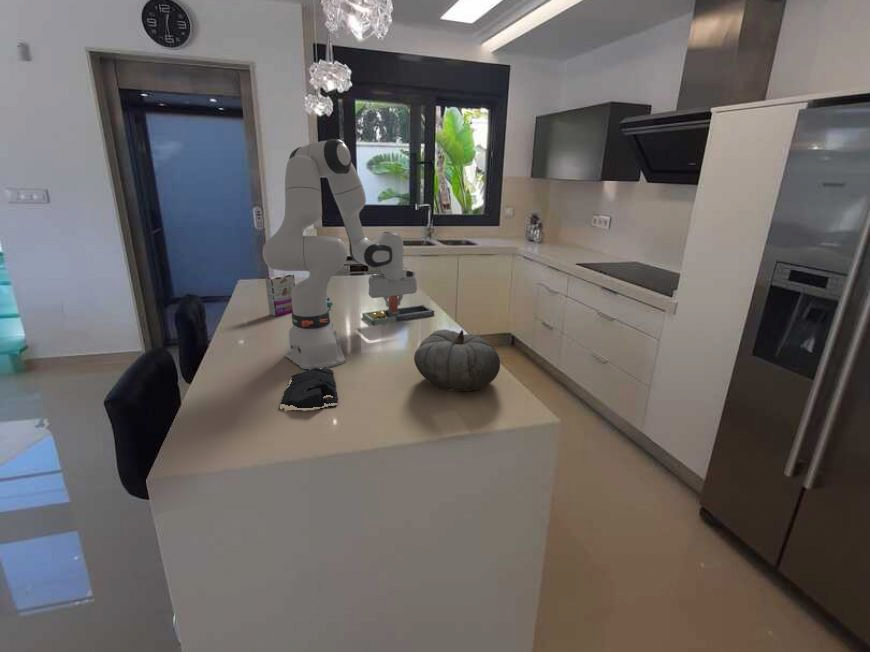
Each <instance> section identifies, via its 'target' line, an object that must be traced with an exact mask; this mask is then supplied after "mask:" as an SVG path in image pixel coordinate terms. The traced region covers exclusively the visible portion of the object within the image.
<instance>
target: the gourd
mask: <svg viewBox="0 0 870 652" xmlns="http://www.w3.org/2000/svg"><path fill="white" fill-rule="evenodd" d="M464 333H465V332H464V330H463V329H461V330H460V332H457V331H454V330H449V329H446V328H445V329H444V328H443V329H437V330H435V331H433V332H432V333H431V334H429V336H427V337H426V338H424V339H423V340H422V341H421V343H420V345H419V346H418V348H417V349H416V351H415V352H414V355H413V361H414V365H415V366H416V369H417V371H418V372H419V374H421V375H422V377H423V378H424V379H425V380H427V381H428V382H429V383H430V384H431V385H433V387H436V388H438V389H440V390H443V391H446V392H448V391H456V392H465V391H468V392H469V391H478V390H481V389H484V388H485V387H488V385H489V384H491V383H492V382H493V381H494V380H495V379H496V378H497V376H498V374H499V372H500V369H501V359H500V356H499V354H498V353H497V350H496V348H495V347H494V346H493V344H492V343H491V342H489V341H488V340H487V339H486V338H484V337H481V336H479V335H477V334H472V333H471V334H469V333H468V334H467V333H465V334H464Z"/></svg>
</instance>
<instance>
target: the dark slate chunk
mask: <svg viewBox="0 0 870 652" xmlns="http://www.w3.org/2000/svg"><path fill="white" fill-rule="evenodd" d="M334 374H335V373H334V370H333V369H331V368H322V369H320V368H313V369H310V370H304V371H302V372H299V373H295V374H293V375H291V377H292V379H291V380H292V382H291V384H290V386H289V387H288V388H287V387H286V388H287V389H286V388H285V389H286V391H285V390H284V392H283V394H284V396H283V395H282V398H283V399H282V398H281V401H282V402H280V404H285V405H288V406H290V405H293V406H295V407H297V408H313V407H322V406H324V403H326V404H329V403H330V404H331V403H338V404H339V402H338V401H339V398H338V397H339V396H338V392H337V382H336V379H335V376H334ZM326 395H331V396H333V398H324V399H323V397H324V396H326Z"/></svg>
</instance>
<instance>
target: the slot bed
mask: <svg viewBox="0 0 870 652" xmlns="http://www.w3.org/2000/svg"><path fill="white" fill-rule="evenodd" d="M385 310H386V316H387V317H391V316H390V315H388V309H385ZM398 311H399V315H396V316H395V317H396V322H400V321H402V322H403V321H407V320H413V319H420V318H426V317H433V316H435V310H434V309H432V308H430V307H428V306H426V305H424V304H420V305H419V304H418V305H413V306H405V307H398Z"/></svg>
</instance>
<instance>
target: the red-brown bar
mask: <svg viewBox="0 0 870 652" xmlns="http://www.w3.org/2000/svg"><path fill="white" fill-rule="evenodd" d="M398 297H399V296H398V295H396V296H388V302H391V306H390V307H387V310H388V315H390V316H391V317H393V316H396V315H399V311H398V308H399V305H398Z"/></svg>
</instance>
